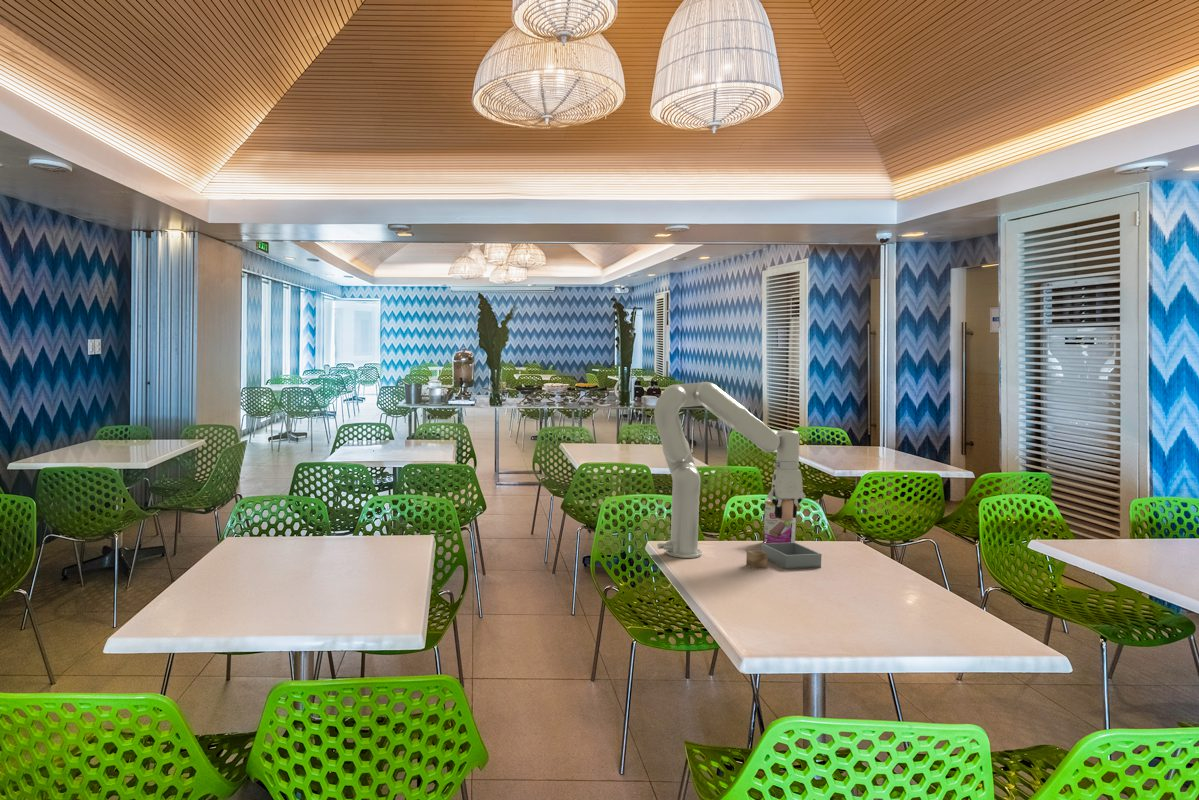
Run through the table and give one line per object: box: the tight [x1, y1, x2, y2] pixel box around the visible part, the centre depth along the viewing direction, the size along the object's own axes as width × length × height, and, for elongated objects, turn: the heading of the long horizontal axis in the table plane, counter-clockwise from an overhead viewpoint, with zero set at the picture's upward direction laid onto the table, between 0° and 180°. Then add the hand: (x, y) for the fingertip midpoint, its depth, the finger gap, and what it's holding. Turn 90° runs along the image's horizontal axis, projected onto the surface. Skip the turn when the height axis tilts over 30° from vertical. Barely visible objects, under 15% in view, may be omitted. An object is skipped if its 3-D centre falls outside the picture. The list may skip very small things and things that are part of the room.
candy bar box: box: [762, 499, 797, 543], centre depth 286 cm, size 11×5×16 cm, turn 58°
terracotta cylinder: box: [778, 499, 794, 521], centre depth 264 cm, size 5×5×7 cm
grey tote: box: [760, 541, 822, 570], centre depth 261 cm, size 13×17×4 cm
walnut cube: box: [745, 549, 768, 570], centre depth 253 cm, size 5×5×5 cm
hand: (785, 516), depth 264 cm, fingers closed on terracotta cylinder, 5 cm apart
